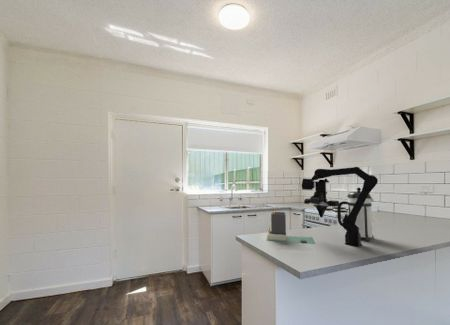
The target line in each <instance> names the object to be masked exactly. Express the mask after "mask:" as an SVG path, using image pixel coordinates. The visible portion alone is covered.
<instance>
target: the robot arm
mask: <svg viewBox="0 0 450 325" xmlns="http://www.w3.org/2000/svg"><path fill="white" fill-rule="evenodd" d="M347 175H356V176H357V177H359V178H360V179H362V180H363V185H362V188H361V190H360V191H361V193H360V195H359V197H358V199H357V201H356V203H355V204H354V206H353V208H352V210H351V212H350V213H349V215H348V214H347V213H345V214H344V217H343V219H341V222H342V226H341V227H342V228H343V229H344V230H346V232H345V234H344V240H345V242H344V245H348V246H352V247H353V246H354V247H361V246H362V245H363V243H362V242H361V238H362V237H361V235H360V233H359V227H358V226H356V225H355V223H356V219H357V216H358V214H359V212H360V210H361V208H362V206H363V204H364V202H365V200H366V198H367V196H368V194H370V193H371V192H372V190H374V188H375V187H376V185H377V184H378V181H379V180H378V177H377V176H375V175H371V174H368V173H366V171H364V170H362V169H361V168H360V167H359V166H354V167H346V168H345V167H343V168H334V169H333V168H331V169H329V168H316V170H314V175H313V176H312V177H311V178H302V181H301V189H302V191H313V190H314V189H315V191H314V193H313V195H312V196H310V198H305V199H303V204H306V205H309V204H312V206H313V207H315V208H316V209H317V212H318V215H319V217H320V218H323V217H324V215H325V212H326V211H327V208H329V207H336V208H337V207H338V206H339V203H340V201H339V200H328V199H327V194H328V192H327V183H330V180H328V179H327V178H331V177H333V176H347Z"/></svg>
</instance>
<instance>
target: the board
mask: <svg viewBox="0 0 450 325" xmlns="http://www.w3.org/2000/svg"><path fill="white" fill-rule="evenodd" d="M270 229H271V226H270V227H268V229H267V231H268V232H267V235H266V241H267V242H281V243H293V244H294V243H296V244H309V245H316V244H317V243H316V242H315V240H314V238H313V236H301V235H300V236H299V235H298V236H297V235H287V234H286V235H282V234H271V230H270Z"/></svg>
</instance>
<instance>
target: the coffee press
mask: <svg viewBox="0 0 450 325" xmlns="http://www.w3.org/2000/svg"><path fill="white" fill-rule="evenodd" d="M361 191H362V188H361V187H357V188H356V191H349V192H348V194H347V195H346V198H347V201H339V206H337V207H336V208H337V212H336V214H337V222H338V225H339V226H341V227H343V226H342V223H343V222H342V212H341V211H342V210H341V209H342V206H343V205H347V213H348V215H349V213H350V212H351V210H352V208H353V206H354V204H355V203H356V201H357V199H358V197H359V195H360V193H361ZM373 203H375V200H374V199H373V198H372V196H371V194H370V193H369V194H368V196H367V198H366V200H365V202H364V204H363V206H362V208H361V210H360V212H359V214H358V216H357V219H356V223H355V225H356V226H358V227H359V233H360V235H361V238H363V239H364V241H365V242H369V241H370V239H374V238H375V236H374V234H373V221H372V220H373V219H372V204H373Z"/></svg>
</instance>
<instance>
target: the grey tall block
mask: <svg viewBox="0 0 450 325" xmlns="http://www.w3.org/2000/svg"><path fill="white" fill-rule="evenodd" d="M270 214H271V217H270V221H271V222H270V223H271V224H270V225H271V226H270V229H271V230H270V231H271V234H282V235H286V236H287V226H286V225H287V224H286V222H287V220H286V213H285V211H274V210H273V211H271V213H270Z"/></svg>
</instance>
